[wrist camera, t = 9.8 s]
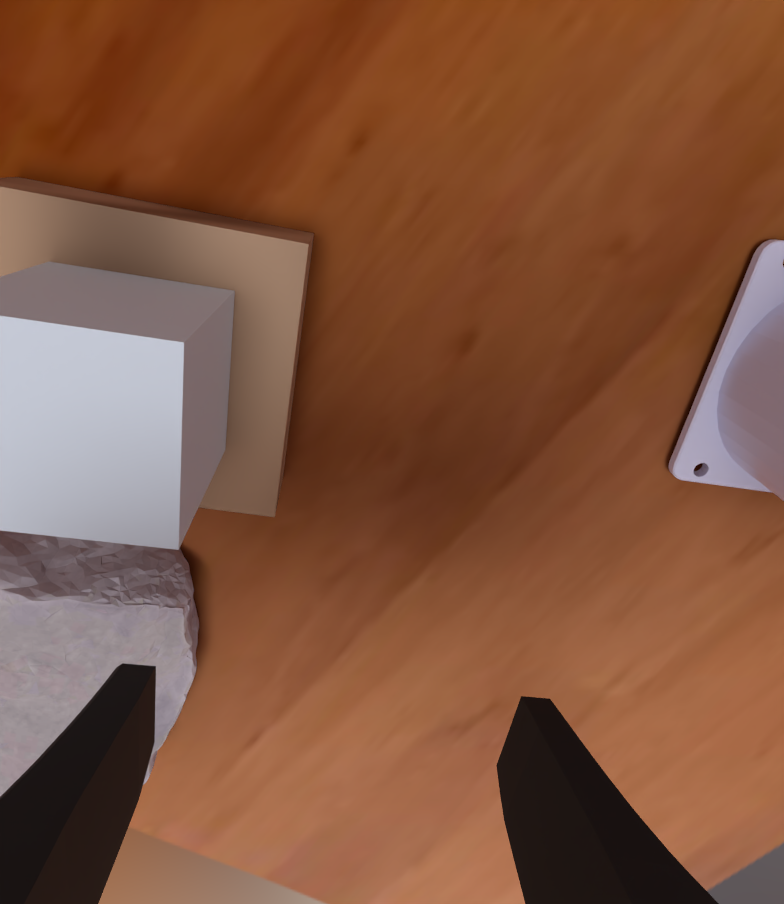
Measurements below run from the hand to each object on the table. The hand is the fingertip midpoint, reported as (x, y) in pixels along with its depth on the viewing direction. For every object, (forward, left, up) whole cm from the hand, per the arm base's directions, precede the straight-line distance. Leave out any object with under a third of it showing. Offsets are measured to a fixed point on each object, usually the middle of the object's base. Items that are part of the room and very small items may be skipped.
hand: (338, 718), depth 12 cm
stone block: (+9, +8, -10) cm, 16 cm away
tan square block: (+6, -4, -10) cm, 13 cm away
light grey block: (+6, -4, -7) cm, 10 cm away
